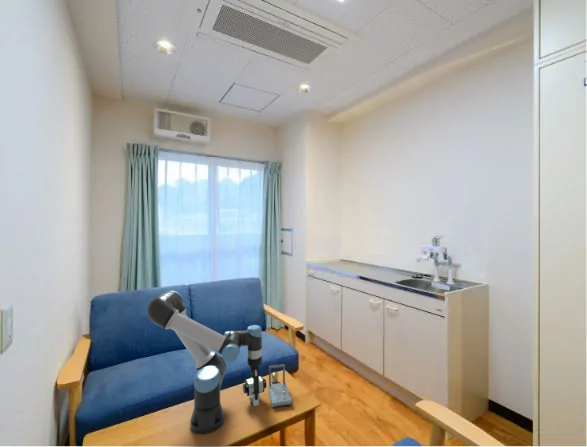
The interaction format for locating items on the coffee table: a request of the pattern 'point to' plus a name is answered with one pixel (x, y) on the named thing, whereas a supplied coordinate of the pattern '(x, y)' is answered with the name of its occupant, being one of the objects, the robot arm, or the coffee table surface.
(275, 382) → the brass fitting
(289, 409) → the coffee table surface
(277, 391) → the dolly
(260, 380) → the pneumatic valve
